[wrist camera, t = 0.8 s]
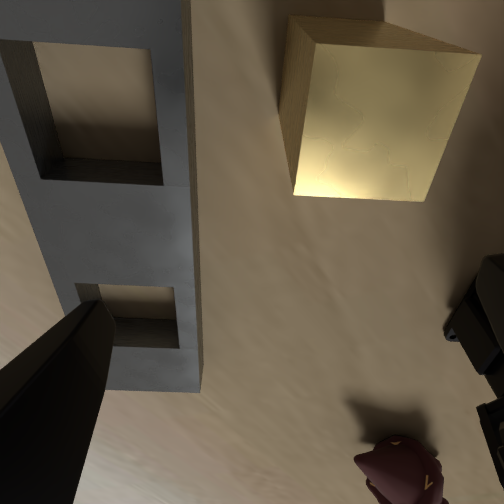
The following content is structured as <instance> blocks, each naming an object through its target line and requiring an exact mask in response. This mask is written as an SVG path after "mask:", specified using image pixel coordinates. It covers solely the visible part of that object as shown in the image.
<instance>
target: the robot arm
mask: <svg viewBox="0 0 504 504" xmlns="http://www.w3.org/2000/svg"><path fill="white" fill-rule="evenodd" d="M115 332H116V325H115V321H114V319H113V317H112V315H111V314H110V312H109V310H108V308H107V307H106V305H105V303H104V302H103V301H102V300H100V299H95V300H87V301H84V302H82V303H81V304H80V305H78V306H77V307H76V308H75V309H74V310H72V311H71V312H70V313H69V314H67V315H66V316H65V317H64V318H63V319H61V320H60V321H59V322H58V323H57V324H55V325H54V326H53V327H52V328H50V329H49V330H48V331H47V332H46V333H44V334H43V335H42V336H41V337H40V338H38V339H37V340H36V341H35V342H34V343H32V344H31V345H30V346H29V347H27V348H26V349H25V350H24V351H23V352H21V353H20V354H19V355H18V356H17V357H15V358H14V359H13V360H12V361H10V362H9V363H8V364H7V365H6V366H4V367H3V368H2V369H1V370H0V504H73V502H74V498H75V494H76V491H77V487H78V484H79V480H80V477H81V473H82V470H83V466H84V463H85V459H86V456H87V452H88V449H89V445H90V442H91V438H92V435H93V431H94V427H95V424H96V420H97V417H98V413H99V410H100V406H101V403H102V399H103V396H104V392H105V388H106V383H107V379H108V373H109V367H110V361H111V355H112V349H113V343H114V338H115ZM444 336H445V338H446V340H447V341H453V342H460V343H461V345H462V347H463V349H464V350H465V352H466V354H467V356H468V358H469V359H470V361H471V363H472V365H473V366H474V368H475V370H476V371H477V372H478V374H479V375H484V376H485V378H486V379H487V381H488V383H489V385H490V386H491V388H492V390H493V391H494V393H495V395H496V397H497V398H498V399H496V400H494V401H492V402H489V403H487V404H485V403H483V404H481V405H479V406H477V407H476V409H477V412H478V415H479V418H480V424H481V427H482V430H483V433H484V436H485V439H486V442H487V445H488V448H489V451H490V454H491V457H492V460H493V463H494V466H495V469H496V472H497V475H498V478H499V481H500V483H501V485H502V487H503V489H504V253H501V254H492V255H487V256H485V257H484V258H483V260H482V263H481V266H480V270H479V273H478V275H477V277H476V278H475V280H474V282H473V284H472V285H471V287H470V289H469V290H468V292H467V294H466V296H465V297H464V299H463V301H462V302H461V304H460V306H459V308H458V309H457V311H456V313H455V314H454V316H453V318H452V320H451V321H450V323H449V325H448V326H447V328H446V330H445V332H444Z"/></svg>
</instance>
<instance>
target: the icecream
mask: <svg viewBox="0 0 504 504" xmlns="http://www.w3.org/2000/svg"><path fill="white" fill-rule="evenodd" d="M354 462H355V463H356V465H357V466H358V467H359V468H360V469H361V470H362V472H363V473H364V474H365V475H366V476H367V479H366V485H367V487H368V489H369V490H370V491H371V492H372V493H373V495H374V496H375V497H376V498H377V500H378V502H379V503H380V504H449V503H448V501H447V500H446V499H445V498H443V497H442V496H443V484H444V477H443V475H442V473H441V472H442V466H441V464H440V462H439V460H437V459H436V458H434V456H433V455H431V454H430V453H429V452H428V451H427V450H425V448H424V447H423V445H422V444H421V443H420V442H419V441H417V440H415V439H411V438H406V437H402V436H398V435H393V436H391V437H390V438H388V439H386V440H383V441H381V442H379V443H378V444H376V445H375V447H374V449H373V451H370V452H366V453H363V454H359V455H356V456H355V457H354Z"/></svg>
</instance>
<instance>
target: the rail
mask: <svg viewBox="0 0 504 504" xmlns="http://www.w3.org/2000/svg"><path fill="white" fill-rule="evenodd" d="M32 41H36V42H51V43H65V44H80V45H95V46H110V47H125V48H140V49H150V50H151V60H152V70H153V81H154V91H155V101H156V111H157V121H158V132H159V142H160V152H161V162H162V163H151V162H133V161H115V160H98V159H80V158H63V154H62V151H61V147H60V143H59V140H58V136H57V132H56V128H55V125H54V121H53V117H52V114H51V110H50V106H49V103H48V99H47V95H46V91H45V88H44V84H43V80H42V77H41V73H40V69H39V66H38V62H37V58H36V55H35V51H34V47H33V43H32ZM0 142H1V144H2V147H3V150H4V152H5V155H6V158H7V160H8V163H9V166H10V169H11V171H12V174H13V177H14V179H15V182H16V185H17V187H18V190H19V193H20V195H21V198H22V201H23V204H24V206H25V209H26V212H27V214H28V217H29V220H30V222H31V225H32V228H33V230H34V233H35V236H36V239H37V241H38V244H39V247H40V249H41V252H42V255H43V257H44V260H45V263H46V266H47V268H48V271H49V274H50V276H51V279H52V282H53V284H54V287H55V290H56V292H57V295H58V298H59V301H60V303H61V306H62V309H63V311H64V314H65V316H66V315H67V314H69V313H70V312H71V311H72V310H74V309H75V308H76V307H77V306H78V305H80V304H81V303H82V302H84V301H87V300H95V299H100V300H102V298H101V295H100V291H99V287H98V284H112V285H135V286H158V287H174V295H175V305H176V315H177V320H163V319H138V318H113V319H114V321H115V325H116V332H115V338H114V343H113V349H112V355H111V361H110V367H109V373H108V379H107V383H106V388H105V390H128V391H158V392H189V393H200V389H201V381H202V373H203V365H204V363H203V335H202V307H201V280H200V252H199V224H198V196H197V169H196V141H195V113H194V85H193V58H192V30H191V2H190V0H0Z"/></svg>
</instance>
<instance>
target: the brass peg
mask: <svg viewBox="0 0 504 504" xmlns="http://www.w3.org/2000/svg"><path fill="white" fill-rule="evenodd" d="M481 56H482V55H481V54H478V53H475V52H472V51H469V50H466V49H463V48H461V47H458V46H455V45H452V44H449V43H446V42H443V41H440V40H437V39H434V38H431V37H428V36H425V35H422V34H420V33H417V32H414V31H411V30H408V29H405V28H402V27H399V26H396V25H393V24H390V23H387V22H384V21H370V20H356V19H342V18H328V17H314V16H300V15H289V16H288V26H287V35H286V45H285V55H284V65H283V75H282V85H281V94H280V104H279V120H280V125H281V130H282V135H283V141H284V146H285V151H286V156H287V162H288V167H289V172H290V177H291V182H292V188H293V193H294V195H306V196H325V197H343V198H362V199H381V200H399V201H418V202H424V200H425V198H426V195H427V193H428V190H429V187H430V185H431V182H432V180H433V177H434V175H435V172H436V170H437V167H438V165H439V162H440V160H441V157H442V155H443V152H444V150H445V147H446V145H447V142H448V140H449V137H450V135H451V132H452V130H453V127H454V124H455V122H456V119H457V117H458V114H459V112H460V109H461V107H462V104H463V102H464V99H465V97H466V94H467V92H468V89H469V87H470V84H471V82H472V79H473V77H474V74H475V72H476V69H477V66H478V64H479V61H480V59H481Z"/></svg>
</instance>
